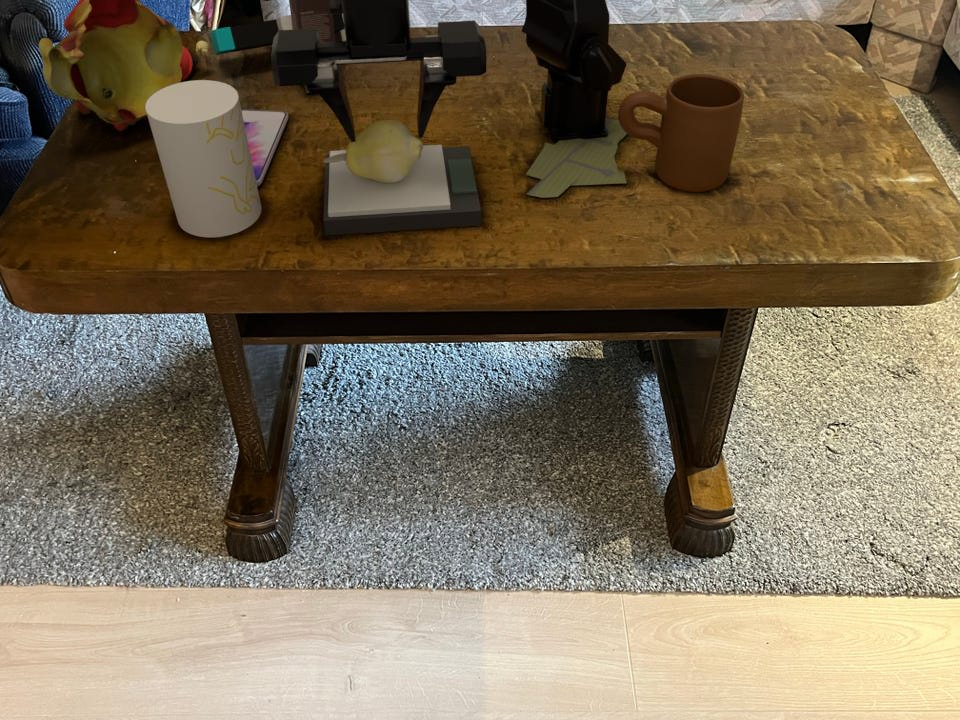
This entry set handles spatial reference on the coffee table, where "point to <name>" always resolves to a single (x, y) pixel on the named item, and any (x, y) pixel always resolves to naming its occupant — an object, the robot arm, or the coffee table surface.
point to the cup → (205, 157)
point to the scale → (404, 195)
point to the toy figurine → (192, 58)
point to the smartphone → (263, 137)
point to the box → (313, 18)
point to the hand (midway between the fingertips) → (387, 137)
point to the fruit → (381, 152)
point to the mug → (689, 129)
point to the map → (578, 163)
